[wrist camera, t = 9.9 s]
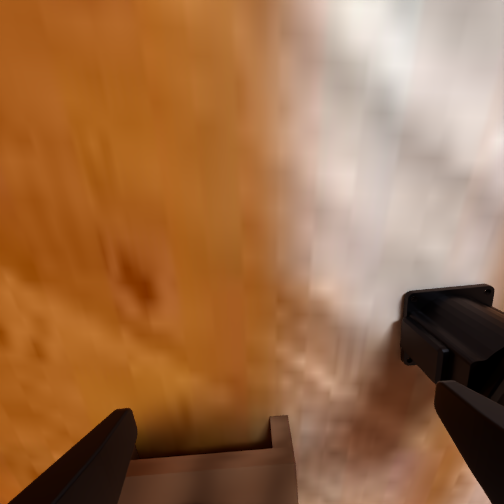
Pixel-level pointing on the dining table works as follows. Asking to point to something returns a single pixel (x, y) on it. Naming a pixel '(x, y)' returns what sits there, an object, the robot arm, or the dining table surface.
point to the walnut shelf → (217, 475)
